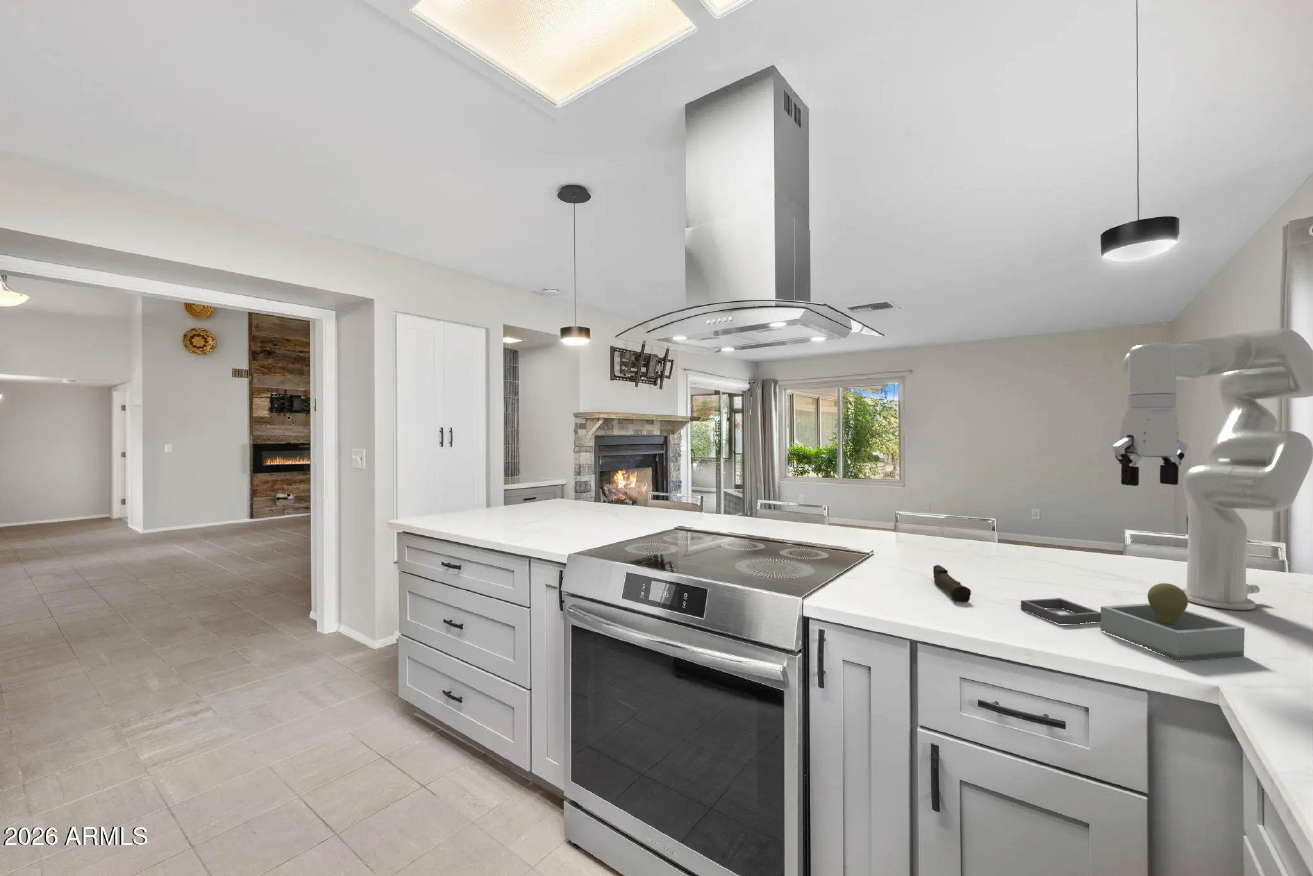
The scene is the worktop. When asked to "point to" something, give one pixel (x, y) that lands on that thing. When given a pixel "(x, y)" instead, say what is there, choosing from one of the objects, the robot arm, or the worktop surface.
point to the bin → (1174, 633)
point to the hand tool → (951, 585)
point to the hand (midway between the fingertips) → (1149, 484)
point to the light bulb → (1167, 603)
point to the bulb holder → (1079, 617)
